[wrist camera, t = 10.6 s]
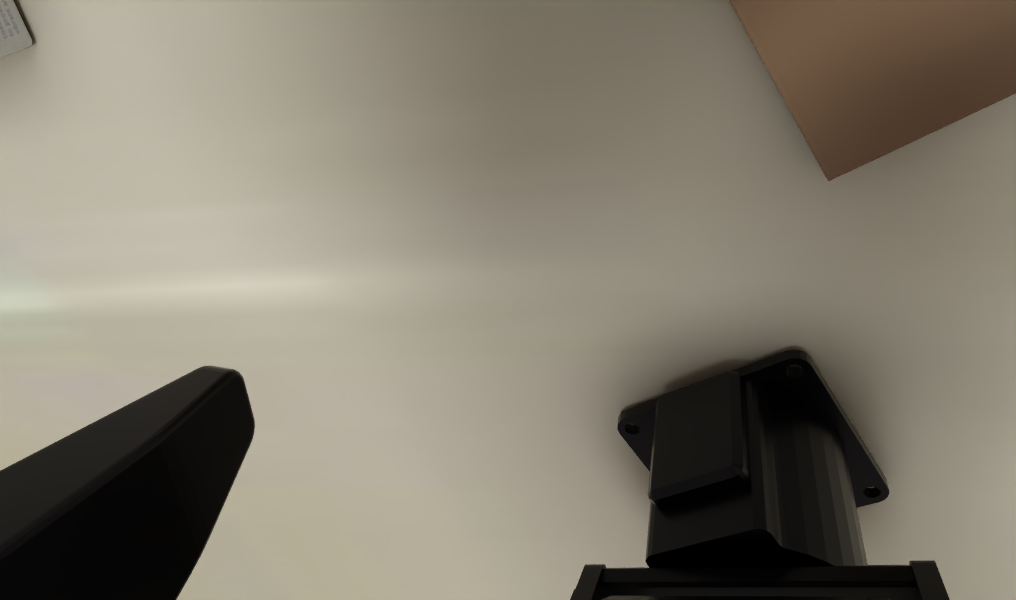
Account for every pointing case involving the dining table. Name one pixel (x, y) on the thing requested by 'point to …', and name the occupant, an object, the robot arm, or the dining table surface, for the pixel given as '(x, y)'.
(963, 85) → the walnut board
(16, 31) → the light bulb box
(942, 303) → the dining table surface
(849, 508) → the robot arm
